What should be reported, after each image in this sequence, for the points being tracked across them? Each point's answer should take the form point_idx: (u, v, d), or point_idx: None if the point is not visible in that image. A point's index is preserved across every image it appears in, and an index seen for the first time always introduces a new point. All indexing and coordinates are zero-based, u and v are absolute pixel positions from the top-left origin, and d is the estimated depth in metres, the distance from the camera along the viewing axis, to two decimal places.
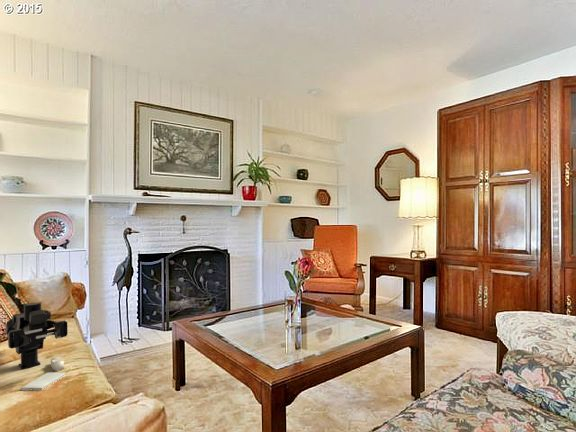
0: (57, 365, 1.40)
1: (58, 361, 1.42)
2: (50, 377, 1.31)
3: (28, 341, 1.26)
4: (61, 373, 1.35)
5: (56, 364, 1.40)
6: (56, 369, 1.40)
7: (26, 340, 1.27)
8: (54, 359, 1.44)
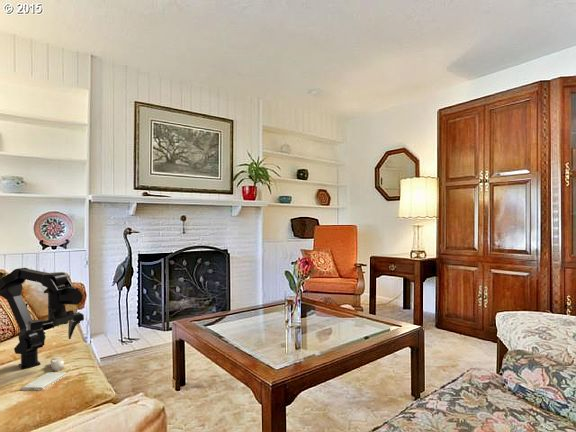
0: (57, 365, 1.40)
1: (58, 361, 1.42)
2: (51, 377, 1.31)
3: (42, 344, 1.40)
4: (61, 373, 1.35)
5: (56, 364, 1.40)
6: (56, 369, 1.40)
7: (41, 341, 1.39)
8: (54, 359, 1.44)
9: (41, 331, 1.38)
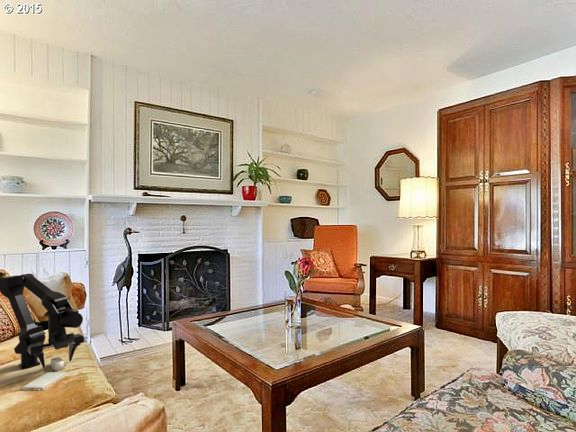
0: (57, 365, 1.40)
1: (58, 361, 1.42)
2: (51, 377, 1.31)
3: (43, 367, 1.39)
4: (61, 373, 1.35)
5: (56, 364, 1.40)
6: (56, 369, 1.40)
7: (42, 365, 1.39)
8: (54, 359, 1.44)
9: (41, 355, 1.37)
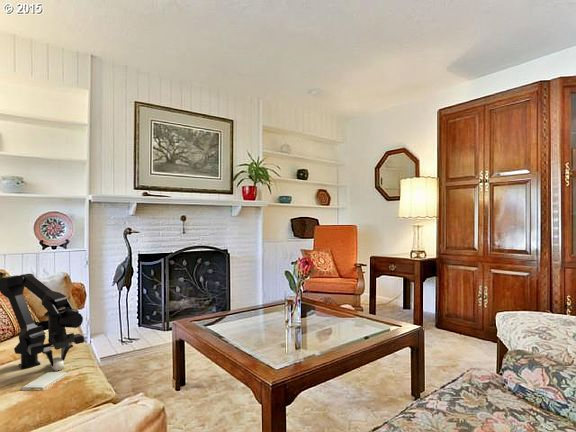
0: (57, 365, 1.40)
1: (58, 361, 1.42)
2: (51, 377, 1.31)
3: (51, 365, 1.42)
4: (62, 373, 1.35)
5: (56, 364, 1.40)
6: (56, 369, 1.40)
7: (50, 362, 1.41)
8: (54, 359, 1.44)
9: (50, 353, 1.39)
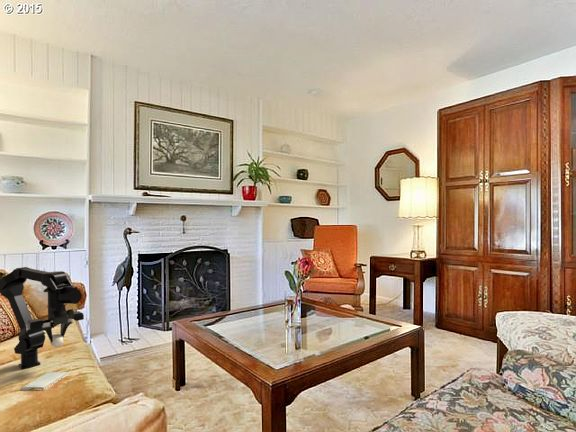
0: (56, 341, 1.39)
1: (58, 337, 1.41)
2: (51, 377, 1.32)
3: None
4: (62, 373, 1.35)
5: (55, 340, 1.39)
6: (55, 345, 1.39)
7: (49, 338, 1.41)
8: (53, 335, 1.43)
9: (49, 328, 1.39)
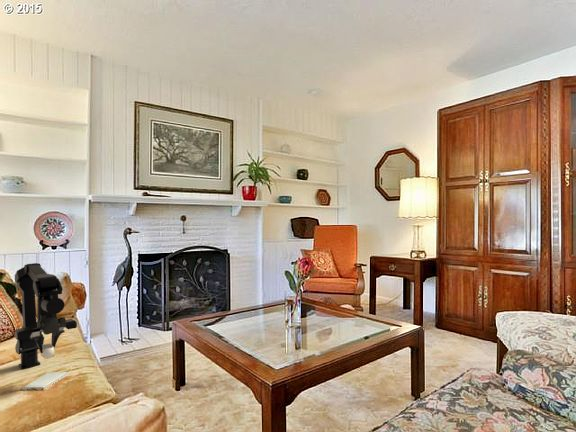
0: (47, 352, 1.28)
1: (48, 347, 1.30)
2: (52, 377, 1.32)
3: None
4: (62, 373, 1.35)
5: (46, 350, 1.28)
6: (46, 356, 1.28)
7: (39, 349, 1.29)
8: (44, 345, 1.32)
9: (39, 338, 1.27)
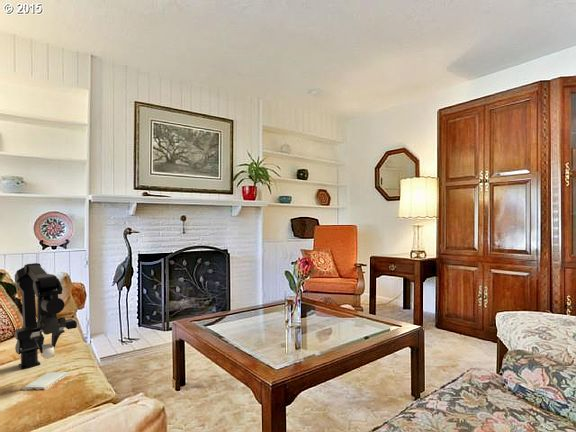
0: (47, 352, 1.28)
1: (48, 347, 1.30)
2: (52, 377, 1.32)
3: None
4: (62, 373, 1.35)
5: (46, 350, 1.28)
6: (46, 356, 1.28)
7: (39, 349, 1.29)
8: (44, 345, 1.32)
9: (39, 338, 1.27)
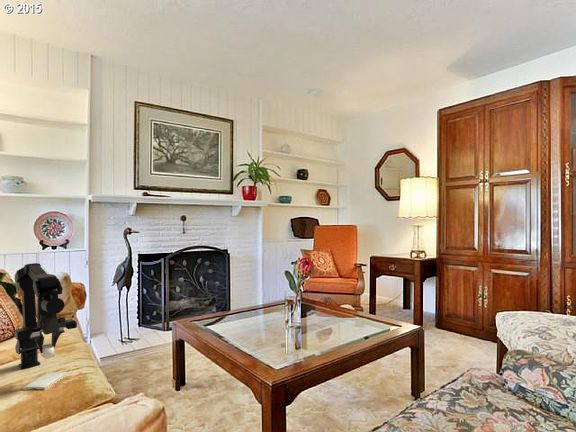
0: (47, 352, 1.28)
1: (48, 347, 1.30)
2: (52, 377, 1.32)
3: None
4: (63, 372, 1.35)
5: (46, 350, 1.28)
6: (46, 356, 1.28)
7: (39, 349, 1.29)
8: (44, 345, 1.32)
9: (39, 338, 1.27)
